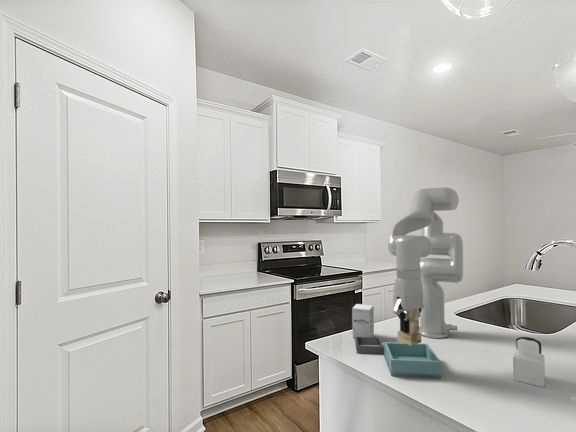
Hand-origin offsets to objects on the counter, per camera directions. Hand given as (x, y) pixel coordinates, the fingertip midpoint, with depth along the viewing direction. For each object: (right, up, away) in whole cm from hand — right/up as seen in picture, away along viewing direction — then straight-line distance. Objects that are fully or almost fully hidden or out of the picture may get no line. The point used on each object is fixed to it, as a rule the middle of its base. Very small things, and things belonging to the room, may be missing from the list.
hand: (409, 329), depth 108 cm
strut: (0, -4, 0) cm, 4 cm away
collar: (-10, -12, +16) cm, 22 cm away
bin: (0, -12, 0) cm, 12 cm away
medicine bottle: (+32, -12, -10) cm, 36 cm away
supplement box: (-9, -13, +28) cm, 32 cm away
